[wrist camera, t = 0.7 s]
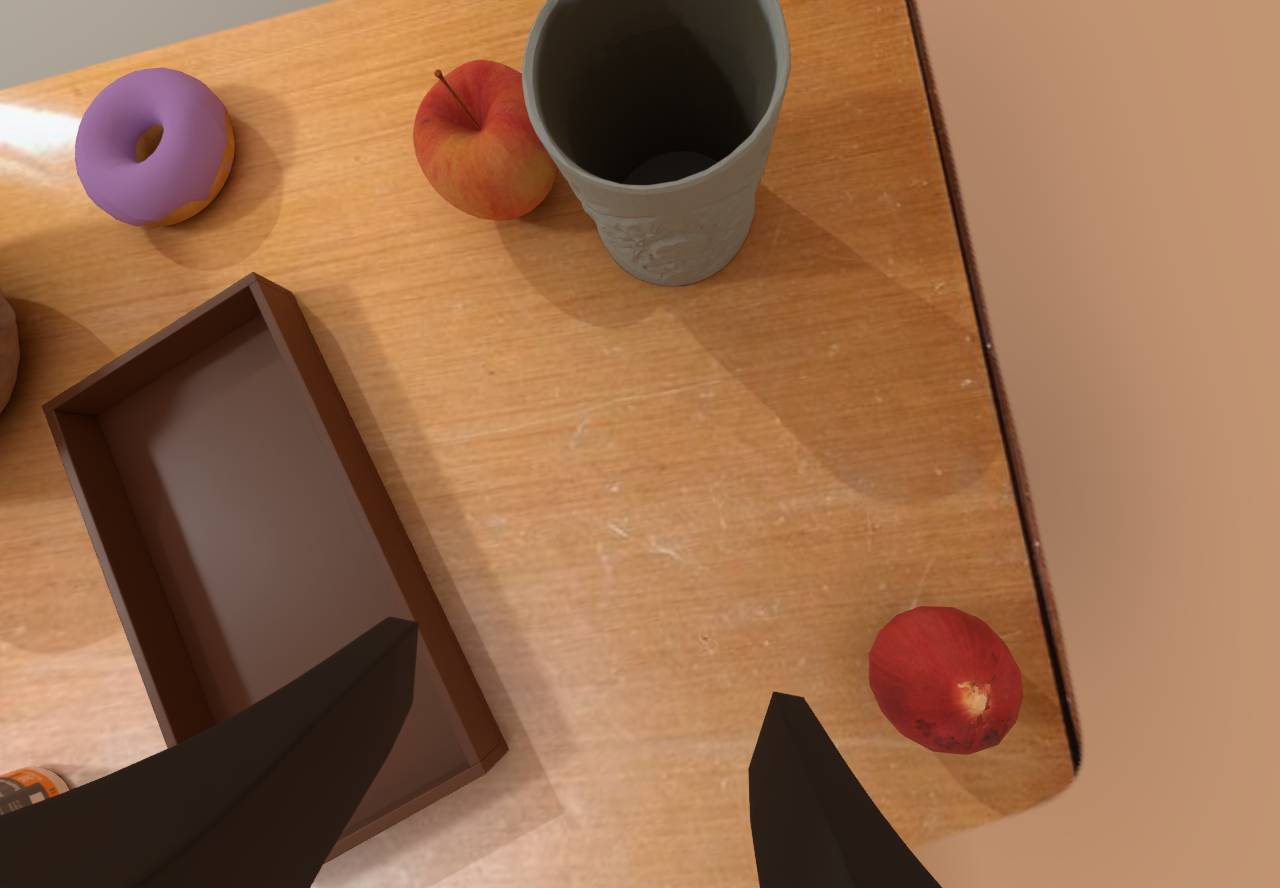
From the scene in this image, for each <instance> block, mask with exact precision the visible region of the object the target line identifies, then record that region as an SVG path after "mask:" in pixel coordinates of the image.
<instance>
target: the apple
mask: <svg viewBox="0 0 1280 888" xmlns="http://www.w3.org/2000/svg"><path fill="white" fill-rule="evenodd" d="M434 74H435V76H436V77H438V78H439V79H440V80H439V81H438V82H437V83H436V84H435V85H434V86H433V87H432V88H431V89H430V91H429V92H428V93H427V94H426V96H425V97H424V99H423V101H422V102H421V105H420V107H419V109H418V112H417V115H416V119H415V123H414V132H413V139H414V148H415V152H416V156H417V159H418V162H419V164H420V166H421V169H422V171H423V173H424V174H425V176H426V178H427V179H428V181H429V182H430V184H431V185H432V186H433V187H434V189H435V190H436V191H437V192H438V193H439V194H440V195H441V196H442V197H443V198H444V199H445V200H446V201H448V202H449V203H450V204H452V205H453V206H455V207H456V208H458V209H459V210H461V211H463V212H465V213H467V214H470V215H473V216H476V217H479V218H483V219H488V220H510V219H515V218H518V217H521V216H523V215H525V214H527V213H529V212H530V211H532V210H533V209H534V208H536V207H537V206H538V205H539V204H540V203H541V202H542V201H543V200H544V199H545V197H546V196H547V195H548V193H549V191H550V190H551V188H552V186H553V183H554V181H555V178H556V175H557V171H558V167H557V165H556V164H555V162H554V161H553V159H552V158H551V156H550V155H549V153H548V151H547V150H546V148H545V147H544V145H543V144H542V142H541V140H540V139H539V137H538V136H537V134H536V132H535V130H534V128H533V126H532V123H531V121H530V119H529V115H528V111H527V108H526V104H525V98H524V91H523V84H522V74H521V73H520V72H518V71H516V70H514V69H512V68H510V67H508V66H506V65H503V64H500V63H496V62H493V61H487V60H475V61H471V62H468V63H465V64H463V65H461V66H460V67H458V68H456V69H454V70H453V71H451V72H450V73H448V74H447V75H446V76H444V77H443V75H442V73H441V71H440V70H436V71H435V73H434Z"/></svg>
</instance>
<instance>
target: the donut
mask: <svg viewBox="0 0 1280 888" xmlns="http://www.w3.org/2000/svg"><path fill="white" fill-rule="evenodd" d="M234 153H235V141H234V133H233V129H232V124H231V121H230V119H229V116H228V111H227V109H226V107H225V106H224V104H223V103H222V101H221V100H220V99H219V98H218V97H217V96H216V95H215V94H214V93H213V92H212V91H211V90H210V89H209V88H208V87H207V86H206V85H205V84H204V83H202V82H201V81H199V80H198V79H196V78H194V77H192V76H190V75H187V74H185V73H183V72H180V71H176V70H171V69H167V68H154V69H144V70H139V71H135V72H132V73H129V74H127V75H125V76H123V77H121V78H119V79H117V80H116V81H114V82H113V83H112V84H110V85H109V86H107V87H106V88H105V89H104V90H103V91H102V92H101V93H100V94H99V95H98V96H97V97H96V98H95V99H94V101H93V102H92V104H91V105H90V106H89V108H88V109H87V111H86V112H85V114H84V116H83V119H82V121H81V123H80V126H79V130H78V134H77V138H76V145H75V162H76V168H77V173H78V176H79V178H80V180H81V182H82V184H83V186H84V188H85V190H86V193H87V194H88V196H89V197H90V198H91V199H92V201H93V202H94V203H95V204H96V205H97V206H98V207H100V208H101V209H103V210H104V211H105V212H107V213H108V214H110V215H111V216H113V217H114V218H115V219H117V220H120V221H122V222H124V223H128V224H131V225H134V226H146V227H160V226H167V225H173V224H176V223H180V222H182V221H184V220H186V219H188V218H190V217H192V216H194V215H196V214H197V213H199V212H200V211H201V210H203V209H204V208H205V207H206V206H208V205H209V204H210V202H211V201H212V200H213V199H214V198H215V197H216V196H217V194H218V193H219V192H220V190H221V189H222V187H223V186H224V184H225V182H226V180H227V178H228V176H229V174H230V171H231V167H232V162H233V158H234Z"/></svg>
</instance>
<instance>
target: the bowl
mask: <svg viewBox="0 0 1280 888" xmlns="http://www.w3.org/2000/svg"><path fill="white" fill-rule="evenodd" d="M15 320H16V314H15V311H14V309H13V308H12V307H11V305H10V304H9V303H8V302H7V300H6V298H5V296H4V294H3V292H2V290H1V288H0V413H1V412H2V411H3V409H4V408H5V406H6V405H7V403H8V402H9V400H10V396H11V393H12V391H13V388H14V385H15V383H16V379H17V370H18V364H19V360H20V350H19V342H18V330H17V325H16V322H15Z"/></svg>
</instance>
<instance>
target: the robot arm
mask: <svg viewBox="0 0 1280 888" xmlns="http://www.w3.org/2000/svg"><path fill="white" fill-rule="evenodd" d="M418 626H419V622H415V621H410V620H405V619H400V618H395V617H390V616H389V617H387V618H386V619H384V620H382V621H381V622H379V623H378V624H376V625H375V626H373V627H372V628H370V629H369V630H368V631H366V632H365V633H363V634H362V635H360V636H359V637H357V638H356V639H355V640H353V641H352V642H350V643H349V644H347V645H346V646H344V647H343V648H341V649H340V650H339V651H337V652H336V653H334V654H333V655H331V656H330V657H328V658H327V659H325V660H324V661H322V662H321V663H319V664H318V665H316V666H314V667H313V668H311V669H310V670H308V671H307V672H305V673H304V674H302V675H301V676H299V677H298V678H296V679H295V680H293V681H291V682H290V683H288V684H287V685H285V686H283V687H282V688H280V689H278V690H277V691H275V692H273V693H272V694H270V695H268V696H267V697H265V698H263V699H262V700H260V701H258V702H257V703H255V704H253V705H252V706H250V707H248V708H247V709H245V710H243V711H241V712H239V713H238V714H236V715H234V716H232V717H230V718H229V719H227V720H225V721H223V722H221V723H219V724H217V725H215V726H213V727H211V728H209V729H207V730H205V731H203V732H201V733H199V734H197V735H195V736H193V737H192V738H190V739H188V740H186V741H183V742H181V743H179V744H177V745H175V746H173V747H171V748H169V749H166V750H164V751H162V752H160V753H157V754H155V755H153V756H150V757H148V758H146V759H144V760H141V761H139V762H137V763H135V764H132V765H130V766H128V767H125V768H123V769H121V770H119V771H116V772H114V773H112V774H110V775H107V776H105V777H102V778H100V779H97V780H95V781H92V782H90V783H87V784H85V785H82V786H80V787H77V788H74V789H72V790H69V791H67V792H64V793H61V794H59V795H56V796H53V797H51V798H48V799H45V800H42V801H40V802H37V803H34V804H31V805H29V806H26V807H23V808H20V809H17V810H14V811H12V812H9V813H6V814H3V815H0V888H310V887H311V885H312V883H313V881H314V880H315V878H316V876H317V874H318V872H319V871H320V869H321V867H322V865H323V864H324V862H325V860H326V859H327V857H328V855H329V854H330V852H331V850H332V849H333V847H334V845H335V844H336V842H337V841H338V839H339V837H340V836H341V834H342V832H343V831H344V829H345V827H346V826H347V824H348V822H349V821H350V819H351V817H352V816H353V814H354V812H355V811H356V809H357V807H358V806H359V804H360V803H361V801H362V799H363V798H364V796H365V794H366V793H367V791H368V789H369V788H370V786H371V784H372V783H373V781H374V779H375V778H376V776H377V774H378V773H379V771H380V769H381V768H382V766H383V764H384V762H385V761H386V759H387V757H388V756H389V754H390V752H391V750H392V748H393V746H394V744H395V742H396V739H397V737H398V735H399V733H400V731H401V729H402V726H403V724H404V722H405V720H406V717H407V715H408V713H409V711H410V709H411V706H412V704H413V696H414V682H415V668H416V654H417V640H418ZM749 801H750V822H751V830H752V837H753V844H754V851H755V857H756V864H757V871H758V877H759V884H760V888H942V887H941V886H940V885H939V884H938V882H937V881H936V880H935V879H934V878H933V877H932V875H931V874H930V873H929V872H928V871H927V870H926V869H925V867H924V866H923V865H922V864H921V863H920V862H919V860H918V859H917V858H916V857H915V855H913V853H912V852H911V851H910V849H909V848H908V847H907V846H906V844H905V843H904V842H903V841H902V839H901V838H900V837H899V835H898V834H897V833H896V832H895V830H894V829H893V828H892V826H891V825H890V824H889V822H888V821H887V820H886V819H885V817H884V816H883V815H882V813H881V812H880V811H879V809H878V808H877V807H876V805H875V804H874V802H873V801H872V800H871V798H870V797H869V796H868V794H867V793H866V791H865V790H864V788H863V787H862V785H861V784H860V783H859V781H858V780H857V778H856V777H855V775H854V774H853V772H852V771H851V770H850V768H849V767H848V765H847V764H846V762H845V761H844V759H843V758H842V756H841V755H840V753H839V751H838V750H837V748H836V747H835V745H834V744H833V742H832V741H831V739H830V738H829V736H828V735H827V733H826V731H825V730H824V728H823V727H822V725H821V724H820V722H819V721H818V719H817V717H816V716H815V714H814V713H813V711H812V710H811V708H810V707H809V705H808V704H807V702H806V700H805V699H804V697H799V696H794V695H789V694H784V693H778V692H773V694H772V697H771V700H770V704H769V707H768V710H767V713H766V716H765V719H764V722H763V725H762V728H761V732H760V735H759V738H758V741H757V744H756V747H755V750H754V753H753V756H752V760H751V763H750V766H749Z"/></svg>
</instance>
